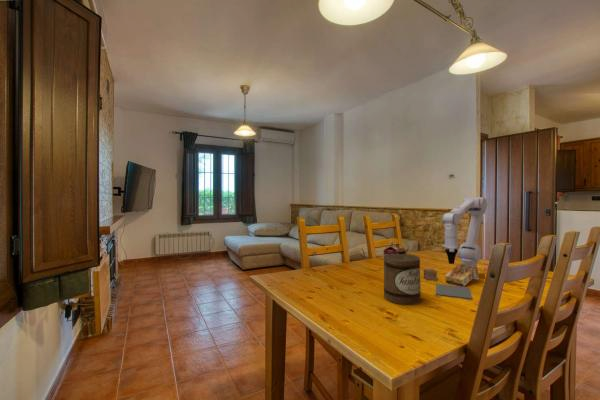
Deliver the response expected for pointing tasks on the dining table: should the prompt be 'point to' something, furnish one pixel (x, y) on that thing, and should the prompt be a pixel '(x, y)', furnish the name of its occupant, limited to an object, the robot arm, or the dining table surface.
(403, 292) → the wooden container
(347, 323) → the dining table surface
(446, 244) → the robot arm
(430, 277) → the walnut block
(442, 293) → the mat
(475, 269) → the candy box
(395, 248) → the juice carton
